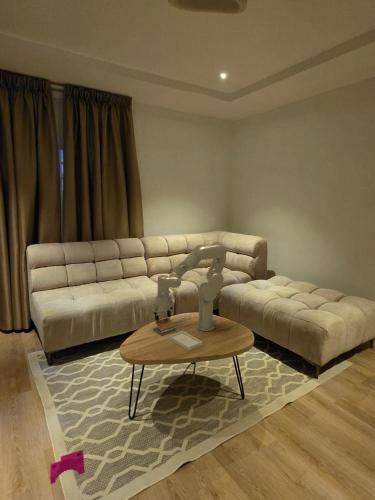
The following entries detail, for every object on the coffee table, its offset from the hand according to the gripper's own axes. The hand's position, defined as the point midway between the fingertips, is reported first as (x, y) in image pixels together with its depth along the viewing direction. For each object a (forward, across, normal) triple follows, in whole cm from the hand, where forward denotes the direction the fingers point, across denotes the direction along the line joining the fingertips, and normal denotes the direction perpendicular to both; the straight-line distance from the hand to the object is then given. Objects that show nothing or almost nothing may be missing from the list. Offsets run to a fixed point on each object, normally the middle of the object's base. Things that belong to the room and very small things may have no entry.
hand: (163, 318), depth 199 cm
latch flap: (+6, 0, +6) cm, 8 cm away
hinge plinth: (+8, 0, +2) cm, 8 cm away
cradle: (+8, -1, +22) cm, 24 cm away
